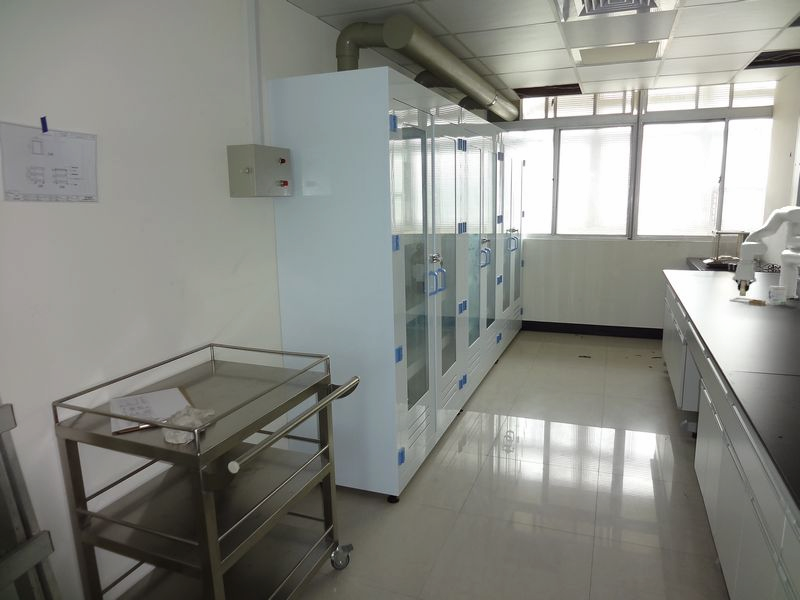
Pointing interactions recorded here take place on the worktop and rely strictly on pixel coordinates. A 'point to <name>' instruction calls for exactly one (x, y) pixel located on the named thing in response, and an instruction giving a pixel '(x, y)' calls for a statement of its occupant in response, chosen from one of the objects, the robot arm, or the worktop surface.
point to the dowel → (743, 287)
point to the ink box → (777, 295)
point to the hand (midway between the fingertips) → (743, 290)
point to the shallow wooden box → (757, 302)
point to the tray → (740, 300)
